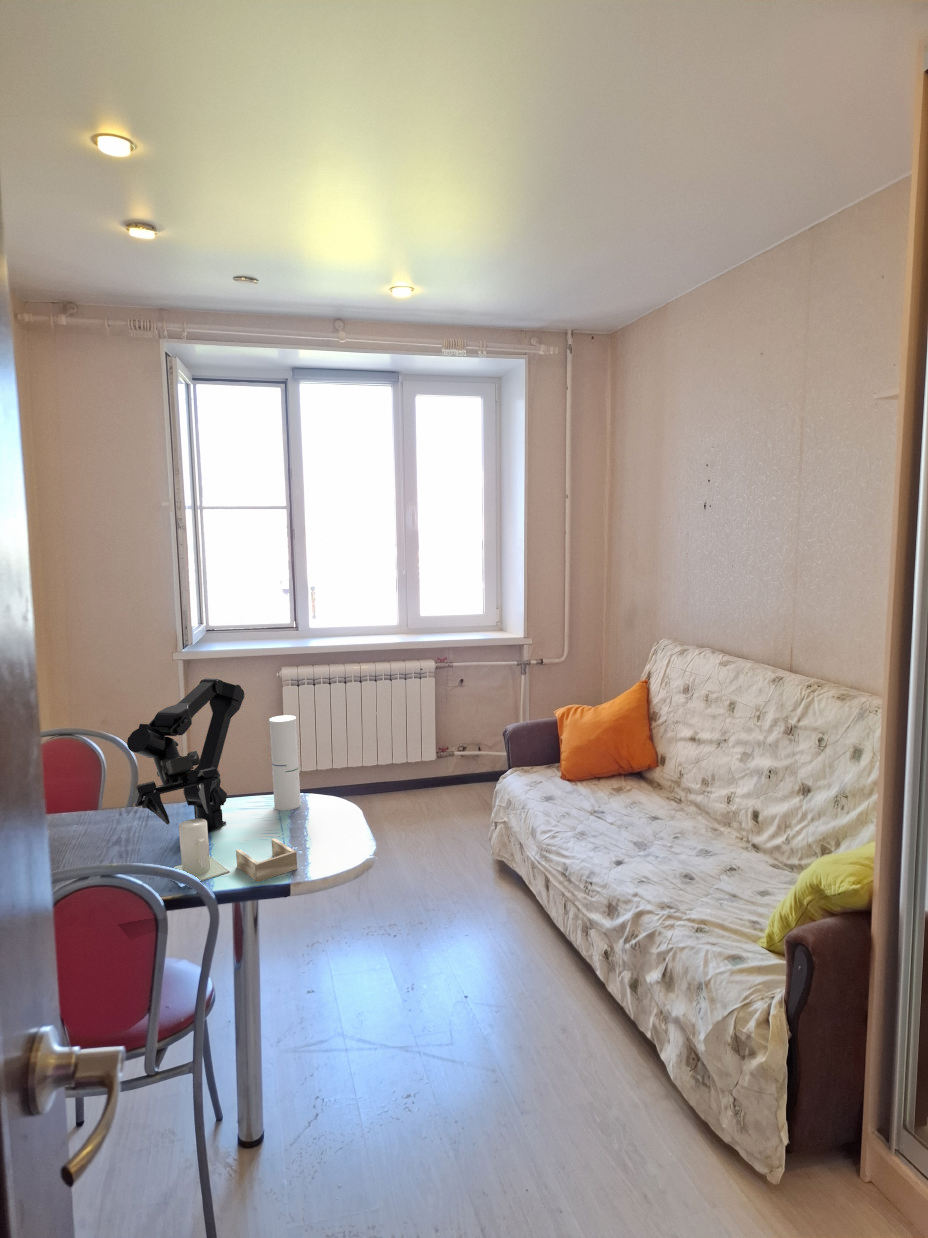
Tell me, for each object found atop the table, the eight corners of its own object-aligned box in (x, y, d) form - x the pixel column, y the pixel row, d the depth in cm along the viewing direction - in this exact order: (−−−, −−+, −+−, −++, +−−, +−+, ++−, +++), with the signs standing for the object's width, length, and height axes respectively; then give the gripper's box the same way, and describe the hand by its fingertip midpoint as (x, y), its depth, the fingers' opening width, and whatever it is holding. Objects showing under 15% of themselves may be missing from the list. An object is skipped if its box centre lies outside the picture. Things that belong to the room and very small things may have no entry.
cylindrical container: (276, 802, 217) (271, 716, 214) (302, 800, 217) (297, 714, 214) (272, 811, 210) (267, 722, 207) (298, 809, 210) (293, 721, 207)
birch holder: (236, 866, 175) (235, 850, 174) (275, 854, 181) (274, 838, 180) (257, 882, 167) (256, 864, 166) (297, 868, 173) (296, 852, 172)
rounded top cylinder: (178, 870, 173) (174, 823, 172) (204, 862, 177) (200, 816, 176) (191, 881, 167) (187, 833, 166) (217, 873, 171) (214, 826, 170)
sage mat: (163, 871, 173) (163, 870, 173) (210, 857, 180) (210, 856, 180) (180, 887, 165) (180, 886, 165) (229, 872, 172) (229, 871, 172)
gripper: (132, 750, 169) (153, 811, 162) (214, 734, 181) (237, 790, 174) (124, 776, 176) (144, 836, 169) (203, 759, 188) (224, 814, 181)
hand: (188, 818), depth 173 cm, fingers open, 9 cm apart
